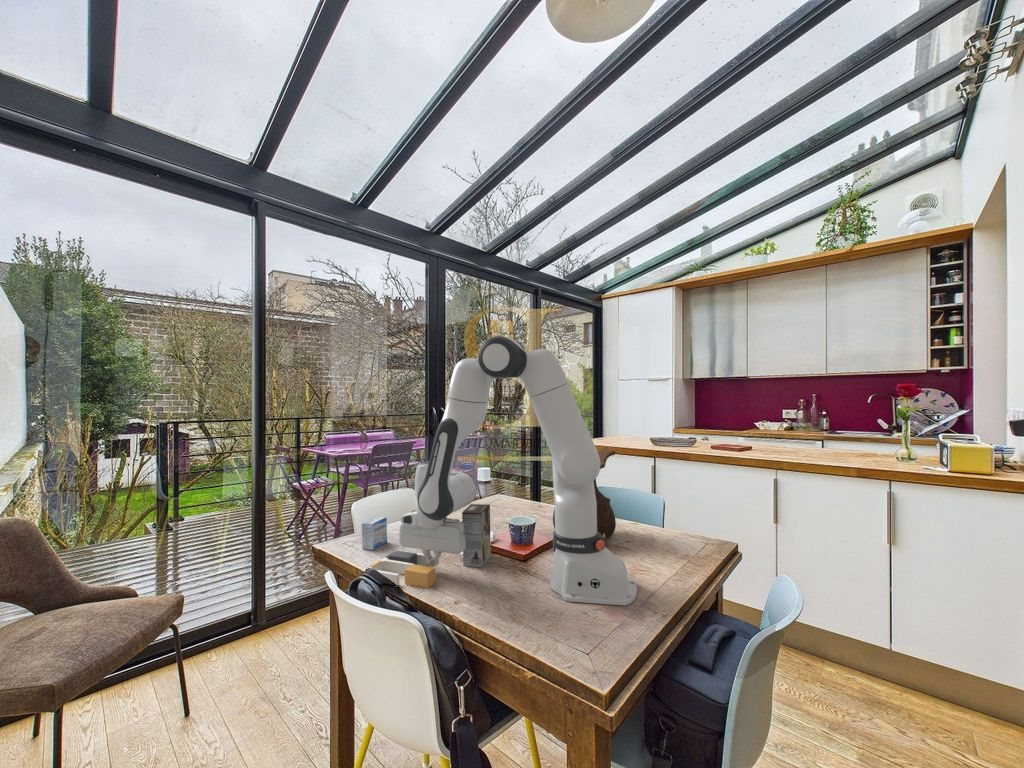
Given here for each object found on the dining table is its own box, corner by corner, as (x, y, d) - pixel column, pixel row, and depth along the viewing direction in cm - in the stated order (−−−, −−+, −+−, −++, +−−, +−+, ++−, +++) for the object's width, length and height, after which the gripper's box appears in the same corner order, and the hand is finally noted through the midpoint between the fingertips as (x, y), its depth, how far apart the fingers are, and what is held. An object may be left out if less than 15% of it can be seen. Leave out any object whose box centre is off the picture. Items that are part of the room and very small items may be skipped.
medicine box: (373, 550, 143) (372, 524, 143) (361, 549, 144) (361, 522, 144) (387, 542, 150) (387, 516, 150) (376, 541, 152) (376, 515, 152)
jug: (619, 553, 137) (618, 457, 137) (550, 550, 141) (549, 456, 141) (615, 530, 159) (614, 447, 159) (555, 527, 162) (554, 446, 162)
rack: (427, 564, 131) (427, 553, 131) (397, 586, 117) (397, 574, 117) (398, 559, 135) (398, 549, 135) (365, 580, 121) (365, 568, 121)
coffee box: (471, 554, 139) (470, 503, 139) (491, 555, 137) (490, 504, 137) (462, 566, 130) (461, 511, 130) (483, 567, 128) (482, 512, 128)
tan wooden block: (435, 582, 120) (435, 567, 120) (427, 588, 116) (427, 573, 116) (413, 578, 122) (413, 564, 122) (405, 584, 119) (404, 569, 119)
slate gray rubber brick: (416, 566, 130) (416, 553, 130) (409, 572, 127) (408, 558, 127) (397, 563, 133) (396, 550, 133) (388, 568, 129) (388, 555, 129)
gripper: (468, 516, 125) (470, 565, 125) (408, 510, 133) (409, 556, 133) (458, 523, 119) (459, 574, 120) (395, 516, 127) (396, 564, 127)
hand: (432, 564), depth 126 cm, fingers closed
